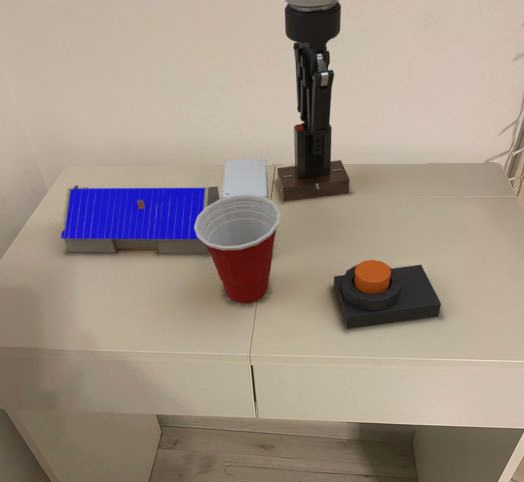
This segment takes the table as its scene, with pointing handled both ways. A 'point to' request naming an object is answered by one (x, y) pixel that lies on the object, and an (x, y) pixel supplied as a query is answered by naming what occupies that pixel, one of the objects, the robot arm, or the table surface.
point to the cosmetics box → (245, 177)
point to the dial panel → (313, 183)
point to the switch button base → (387, 298)
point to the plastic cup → (240, 243)
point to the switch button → (372, 277)
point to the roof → (134, 218)
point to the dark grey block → (301, 153)
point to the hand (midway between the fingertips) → (312, 165)
